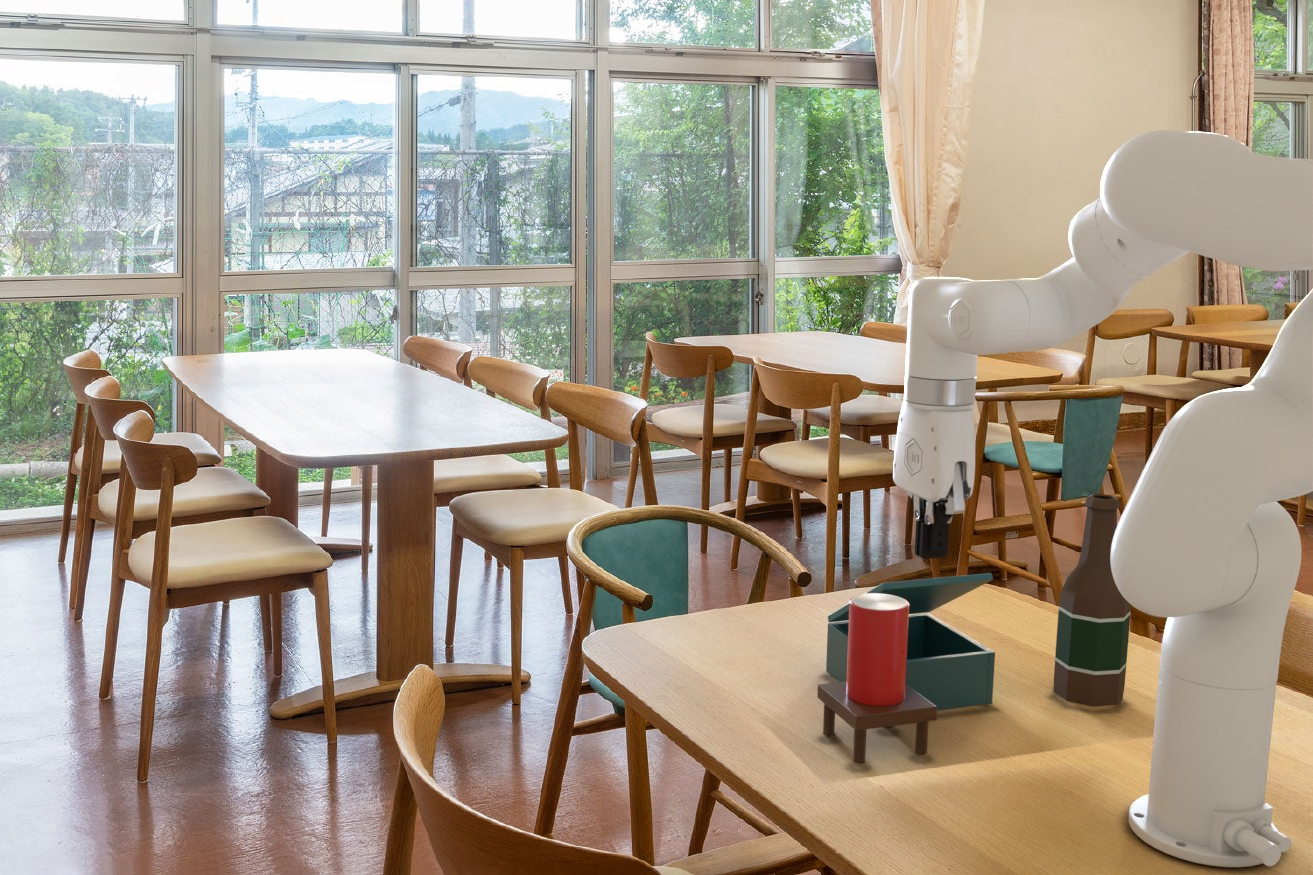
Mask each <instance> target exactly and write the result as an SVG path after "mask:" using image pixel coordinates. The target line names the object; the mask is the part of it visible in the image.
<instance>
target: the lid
mask: <svg viewBox="0 0 1313 875" xmlns="http://www.w3.org/2000/svg"><path fill="white" fill-rule="evenodd" d="M993 580H994V578H993V574H992V572H986V573H977V574H965V575H957V576H956V575H955V576H954V575H953V576H944V577H933V578H921V579H911V580H899V581H888V582H882V583H880V584H878V585H877V586H875V587H874V588H872V589H870V590H869V591H867V592H865V593H864V594H868V593H880V594H889V595H894V596H898V597H901V598H903V599H905V600H907V601H908V602H909V615H912V614H922V613H930V612H931V613H932V612H933V611H935V610H936V609H939V608H940V607H943V606H945V605H946V604H948V603H950V602H952V601H954V600H956V599H959V598H960V597H962V596H964V595H966V594H968V593H970V592H971V591H973V590H976V589H977V588H980V587H982V586H984V585H985V584H987V583H989V582H991V581H993ZM827 621H828V623H834V622H843V621H849V603H847V604H845V605H844V606H842V607H839V609H837V610H835V611H834V612H832V613H830V614H829V615H827Z"/></svg>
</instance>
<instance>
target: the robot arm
mask: <svg viewBox="0 0 1313 875" xmlns="http://www.w3.org/2000/svg"><path fill="white" fill-rule="evenodd" d="M1101 175H1102V176H1101V178H1100V184H1099V185H1100V186H1099V197H1098V198H1097V199H1095V200H1094V201H1093V202H1091V203H1090V204H1089V203H1088V205H1086V206H1084V207H1083V208H1082V209H1080V210H1079V211H1078V212H1077V213H1076V214H1075V215H1074V217H1073V218H1072V219H1071V221H1070V224H1069V228H1068V234H1067V235H1068V236H1067V238H1068V244H1069V249H1070V251H1071V252H1070V253H1071V254H1072V257H1071V258H1069V259H1068V260H1067V261H1065V262H1064V263H1062V264H1061V265H1059V266H1058V267H1056V268H1054V269H1052V270H1051V271H1049V272H1048V273H1046V274H1044V275H1042V276H1040V277H1037V278H1010V279H1009V278H1007V279H1006V278H1004V279H991V280H973V279H970V278H964V277H951V276H928V277H921V278H918V279H916V280H915V281H914V282H913V283H912V284H911V286H910V288H909V293H908V308H907V309H908V311H907V330H906V347H905V348H906V350H905V370H904V391H903V401H902V404H901V409H900V413H899V417H898V423H897V427H896V428H897V430H896V437H895V446H894V455H893V466H892V467H893V468H892V481H893V482H894V484H895V486H896V487H898V488H899V489H901V490H903V491H904V492H905V494H906V495H907V496H908V497H909V498H910V499H912V503H913V517H914V519H915V533H914V534H915V535H914V555H916V556H918V557H919V558H921V559H923V560H929V559H942V558H946V557H947V556H948V550H949V549H948V548H949V533H950V532H949V529H950V524H951V523H952V522H953V517H954V516H953V515H960V514H965V511H966V510H965V501H966V500H968V499H970V498H971V496H972V495H973V492H974V487H975V477H976V427H975V416H974V409H975V406H976V405H975V404H976V390H977V387H976V386H977V371H978V356H990V355H992V356H993V355H1002V354H1008V353H1020V352H1021V353H1023V352H1037V351H1038V352H1039V351H1044V350H1049V349H1052V348H1055V347H1058V346H1060V345H1062V344H1064V343H1067V342H1069V341H1070V340H1072V339H1074V338H1076V337H1077V336H1079V335H1081V334H1083V333H1084V332H1087V331H1088V330H1090V329H1091V328H1093V327H1095V326H1097V325H1098V324H1100V323H1102V322H1103V321H1105V320H1106V319H1108V318H1109V317H1110V316H1111V315H1113V314H1115V312H1116V311H1117V310H1118V309H1119V307H1120V306H1121V305H1122V303H1123V302H1124V301H1125V299H1126V298H1127V297H1128V295H1129V294H1130V291H1131V289H1132V287H1134V286H1135V285H1137V284H1138V283H1140V282H1142V281H1144V280H1145V279H1147V278H1148V277H1150V276H1152V275H1154V274H1155V273H1157V272H1158V271H1160V270H1162V269H1163V268H1165V267H1166V266H1168V265H1170V264H1172V263H1173V262H1176V261H1177V260H1178V259H1180V258H1181V257H1182V258H1183V257H1184V256H1185V255H1188V254H1189V253H1193V254H1196V255H1200V256H1202V257H1205V258H1209V259H1212V260H1215V261H1219V262H1223V263H1226V264H1229V265H1232V266H1233V265H1234V266H1236V267H1241V268H1246V269H1251V270H1257V271H1262V272H1263V271H1265V272H1294V271H1313V158H1298V157H1297V158H1295V157H1280V156H1273V155H1268V154H1263V153H1257V152H1254V151H1253V150H1252V149H1251V148H1250V147H1248V145H1246V144H1245V143H1243V142H1242V141H1241V140H1238V139H1236V138H1234V137H1233V136H1229V135H1225V134H1222V133H1217V132H1208V131H1207V132H1205V131H1189V130H1188V131H1187V130H1173V129H1172V130H1171V129H1159V130H1157V129H1156V130H1150V131H1147V132H1143V133H1140V134H1137V135H1136V136H1134V137H1132V138H1130V139H1128V140H1127V141H1125V142H1124V143H1123V144H1122V145H1120V146H1119V148H1118V149H1116V150H1115V151H1114V152H1113V154H1112V155H1111V157H1110V158H1109V160H1108V161H1107V162H1106V165H1105V166H1104V168H1103V171H1102V174H1101ZM1312 492H1313V288H1312V289H1311V290H1310V291H1309V292H1308V294H1307V295H1306V296H1305V297H1304V298H1303V299H1302V300H1301V301H1300V303H1299V304H1297V306H1296V307H1295V309H1293V310H1292V312H1291V313H1290V314H1289V316H1288V317H1287V318H1286V320H1285V322H1284V323H1283V324H1282V326H1281V328H1280V330H1279V331H1278V334H1277V336H1276V338H1275V341H1274V343H1273V344H1272V347H1271V349H1270V350H1269V353H1268V355H1267V356H1266V358H1265V360H1264V362H1263V363H1262V365H1261V367H1260V368H1259V370H1258V371H1257V373H1256V375H1255V376H1254V377H1253V378H1252V379H1251V381H1250V382H1249V383H1247V384H1245V385H1243V386H1241V387H1233V388H1225V389H1220V390H1215V391H1211V392H1208V393H1205V394H1202V395H1200V396H1197V397H1196V398H1193V399H1192V400H1190V401H1189V402H1187V403H1186V404H1185V405H1184V406H1182V407H1181V408H1180V409H1179V410H1178V411H1176V413H1175V414H1174V415H1173V417H1171V418H1170V420H1169V421H1168V422H1167V424H1166V425H1165V426H1164V427H1163V430H1162V431H1161V433H1160V435H1159V437H1158V439H1157V441H1156V443H1155V445H1154V447H1153V449H1152V451H1151V452H1150V454H1149V457H1148V459H1147V461H1146V463H1145V465H1144V468H1143V469H1142V472H1141V474H1140V476H1139V478H1138V480H1137V482H1136V484H1135V486H1134V487H1133V490H1132V492H1131V494H1130V496H1129V499H1128V500H1127V503H1126V505H1125V507H1124V509H1123V512H1122V514H1121V516H1120V518H1119V520H1118V521H1117V527H1116V530H1115V533H1114V536H1113V540H1112V545H1111V553H1110V563H1111V570H1112V575H1113V578H1114V581H1115V584H1116V586H1117V588H1118V590H1119V591H1120V593H1121V594H1122V596H1123V597H1124V598H1125V599H1126V600H1127V601H1128V602H1129V603H1130V604H1131V607H1133V608H1134V609H1136V610H1138V611H1140V612H1141V613H1144V614H1146V615H1149V616H1153V617H1157V618H1166V621H1165V625H1164V630H1163V635H1162V640H1161V648H1160V659H1159V660H1160V661H1159V668H1158V680H1157V690H1156V691H1157V692H1156V701H1155V702H1156V703H1155V713H1154V714H1155V715H1154V725H1153V736H1152V737H1153V738H1152V750H1151V762H1150V773H1149V785H1148V786H1149V787H1148V793H1146V794H1144V795H1142V796H1140V797H1138V798H1137V799H1134V800H1133V802H1131V803H1130V806H1129V810H1128V824H1129V827H1130V829H1131V830H1132V831H1133V832H1134V834H1135V835H1136V836H1137V837H1138V838H1139V839H1140V840H1142V841H1143V842H1144V843H1146V844H1147V845H1148V846H1150V847H1152V848H1154V849H1156V850H1158V851H1160V852H1161V853H1164V854H1166V855H1169V856H1171V857H1174V858H1178V859H1180V860H1183V861H1187V862H1190V863H1194V864H1199V865H1203V866H1204V865H1205V866H1211V867H1220V868H1246V867H1247V868H1248V867H1255V866H1258V865H1262V864H1263V865H1265V867H1273V866H1276V865H1277V864H1278V862H1279V861H1280V860H1281V857H1282V853H1286V852H1288V851H1289V850H1290V849H1291V846H1292V839H1291V838H1290V837H1289V836H1288V835H1286V834H1284V833H1282V832H1280V831H1279V829H1278V828H1277V827H1276V825H1275V823H1273V816H1274V815H1273V814H1274V806H1272V805H1271V804H1268V803H1267V802H1265V800H1266V789H1267V780H1268V772H1269V771H1268V770H1269V761H1270V760H1269V759H1270V751H1271V750H1270V749H1271V740H1272V730H1273V722H1274V721H1273V720H1274V712H1275V703H1276V702H1275V701H1276V693H1277V691H1276V690H1277V682H1278V679H1279V669H1280V660H1281V653H1282V646H1283V645H1282V644H1283V638H1284V632H1285V627H1286V621H1287V617H1288V613H1289V609H1290V605H1291V603H1292V599H1293V597H1294V593H1295V589H1296V586H1297V582H1298V579H1299V576H1300V575H1299V574H1300V570H1301V564H1302V541H1301V540H1302V539H1301V536H1300V532H1299V529H1298V527H1297V525H1296V523H1295V521H1294V519H1293V516H1291V514H1290V512H1288V511H1287V509H1286V508H1284V507H1283V506H1282V504H1280V503H1279V501H1280V502H1281V501H1285V500H1290V499H1293V498H1297V497H1298V498H1299V497H1301V496H1304V495H1307V494H1309V493H1312Z"/></svg>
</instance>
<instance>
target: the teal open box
mask: <svg viewBox="0 0 1313 875" xmlns="http://www.w3.org/2000/svg"><path fill="white" fill-rule="evenodd" d="M848 628H849V620H847V621H838V622H828V623H827V634H826V636H827V638H826V662H825V663H826V664H825V666H826V667H825V668H826V669H825V671H826V673H828V675H830V676H831V677H833V678H834V679H835V680H836V681H837V682H844V681H847V654H848ZM995 662H996V652H995V651H993V650H992V649H990V648H988V647H987V646H985V645H983V644H982V643H980V642H978V641H977V640H975V639H973V638H971V637H970V636H968V635H966V634H965V633H963V632H962V631H960V630H958V629H957V628H955V627H953V626H951V625H950V624H948V623H946V622H945V621H944V620H942V619H939V618H938V617H937V616H935V615H933V614H931V613H930V612H927V613H917V614H909V621H908V643H907V664H906V685H907V686H909V687H910V688H912V689H913V690H914V691H916V692H917V693H919V694H920V695H921V696H923V697H924V698H926V699H927V700H928V701H930V702H931V703H932V704H934V705H935V706H937V712H938V711H945V710H953V709H960V708H961V709H963V708H969V707H976V706H977V707H978V706H985V705H992V704H993V697H994V696H993V695H994V681H995V680H994V677H995Z"/></svg>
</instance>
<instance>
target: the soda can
mask: <svg viewBox="0 0 1313 875" xmlns="http://www.w3.org/2000/svg"><path fill="white" fill-rule="evenodd" d="M848 604H849V620H848V621H849V628H848V654H847V681H846V694H847V696H848V697H849V698H850V699H852V700H854V701H856V702H859V703H862V704H866V705H873V706H888V705H894V704H898V703H900V702H902V701H903V700H904V698H905V685H906V664H907V643H908V621H909V615H910V614H909V602H908V601H907V600H905V599H903V598H901V597H898V596H894V595H889V594H880V593H868V594H865V593H861V594H857V595H854V596H852V597H850V598H849V602H848Z"/></svg>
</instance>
